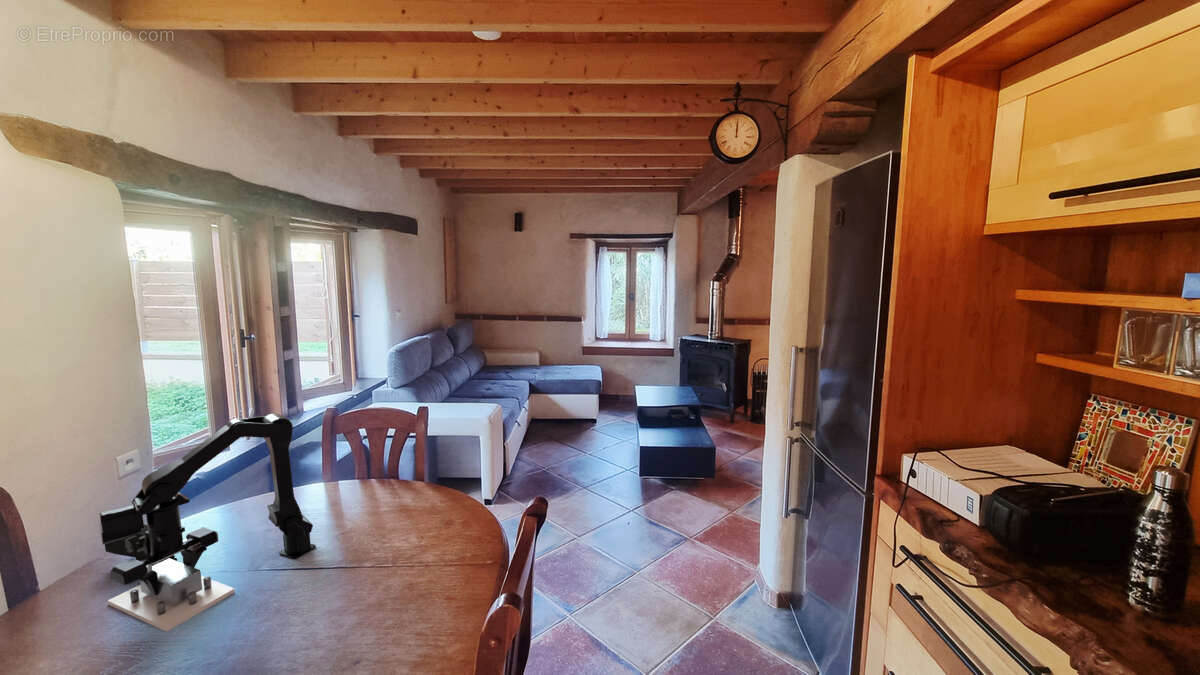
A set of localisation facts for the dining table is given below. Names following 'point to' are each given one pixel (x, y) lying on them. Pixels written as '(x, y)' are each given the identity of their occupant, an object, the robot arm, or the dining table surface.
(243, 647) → the dining table surface
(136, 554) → the security camera
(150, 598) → the white peg board
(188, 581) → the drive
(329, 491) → the dining table surface
